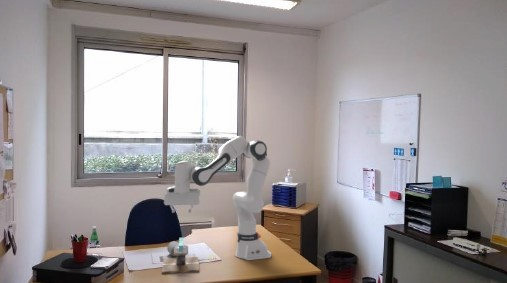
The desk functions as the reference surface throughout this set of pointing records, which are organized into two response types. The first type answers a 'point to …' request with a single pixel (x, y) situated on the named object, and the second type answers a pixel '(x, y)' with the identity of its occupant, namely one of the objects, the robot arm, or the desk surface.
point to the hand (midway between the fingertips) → (181, 212)
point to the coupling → (181, 248)
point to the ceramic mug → (172, 248)
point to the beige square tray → (180, 265)
